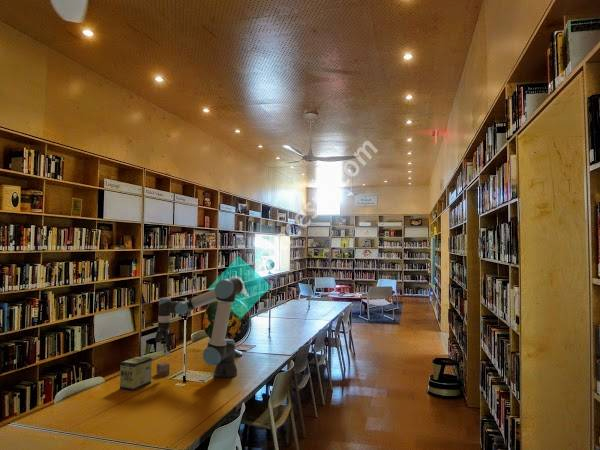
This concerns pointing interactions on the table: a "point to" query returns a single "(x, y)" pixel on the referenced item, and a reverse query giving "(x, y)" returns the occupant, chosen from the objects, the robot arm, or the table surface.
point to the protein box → (135, 373)
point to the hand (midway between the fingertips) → (162, 354)
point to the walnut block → (163, 369)
